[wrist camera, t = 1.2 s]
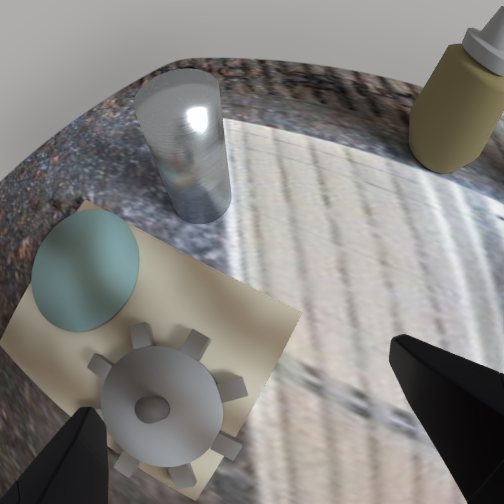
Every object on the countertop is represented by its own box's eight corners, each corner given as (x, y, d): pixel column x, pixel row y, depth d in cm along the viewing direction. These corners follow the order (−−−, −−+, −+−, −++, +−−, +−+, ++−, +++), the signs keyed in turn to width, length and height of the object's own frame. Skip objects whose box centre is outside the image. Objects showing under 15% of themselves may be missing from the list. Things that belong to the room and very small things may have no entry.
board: (202, 505, 17) (190, 529, 13) (-3, 344, 21) (-34, 334, 17) (308, 319, 22) (319, 305, 18) (83, 201, 26) (62, 175, 22)
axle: (211, 233, 24) (185, 132, 14) (162, 209, 25) (116, 111, 15) (242, 186, 26) (235, 78, 16) (193, 167, 27) (168, 63, 17)
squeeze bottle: (472, 158, 28) (551, 37, 11) (449, 199, 26) (553, 55, 9) (416, 114, 30) (471, -19, 14) (384, 146, 28) (448, -18, 11)
